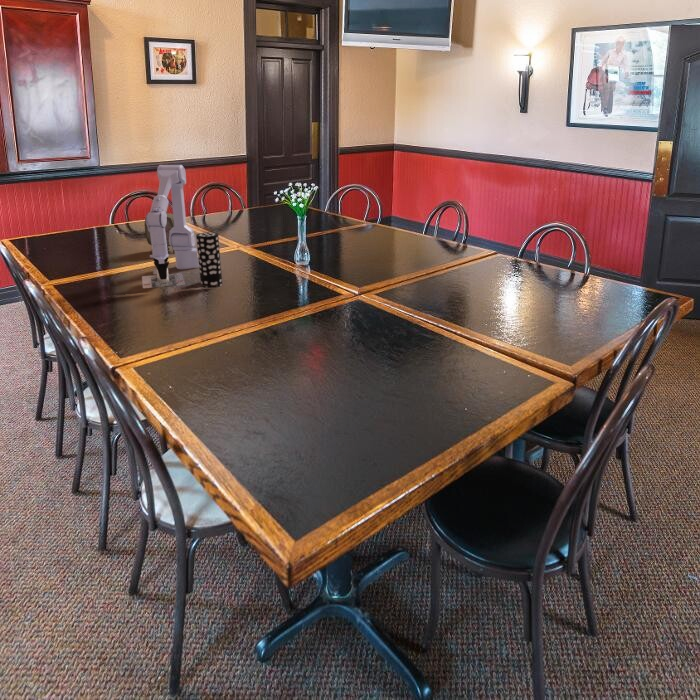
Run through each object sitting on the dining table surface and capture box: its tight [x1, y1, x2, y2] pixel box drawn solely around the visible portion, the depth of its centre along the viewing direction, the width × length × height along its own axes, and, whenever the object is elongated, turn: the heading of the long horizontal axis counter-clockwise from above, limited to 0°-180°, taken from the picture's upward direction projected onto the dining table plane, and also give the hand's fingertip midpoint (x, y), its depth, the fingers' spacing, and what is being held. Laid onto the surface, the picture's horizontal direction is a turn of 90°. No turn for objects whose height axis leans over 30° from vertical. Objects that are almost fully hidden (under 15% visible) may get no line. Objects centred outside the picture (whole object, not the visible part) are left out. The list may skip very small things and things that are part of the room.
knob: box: [152, 267, 170, 283], centre depth 258 cm, size 6×4×5 cm
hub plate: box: [141, 272, 186, 289], centre depth 263 cm, size 16×18×2 cm
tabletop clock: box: [144, 210, 175, 254], centre depth 308 cm, size 14×9×25 cm, turn 81°
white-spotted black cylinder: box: [195, 231, 223, 289], centre depth 256 cm, size 8×8×20 cm
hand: (163, 277), depth 259 cm, fingers closed on knob, 4 cm apart
